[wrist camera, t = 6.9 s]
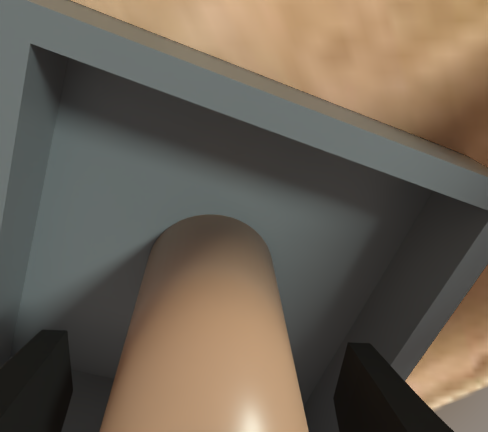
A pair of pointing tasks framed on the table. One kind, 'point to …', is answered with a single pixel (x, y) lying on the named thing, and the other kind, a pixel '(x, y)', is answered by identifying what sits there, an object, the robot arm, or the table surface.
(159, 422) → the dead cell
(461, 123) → the table surface
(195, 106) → the bin
